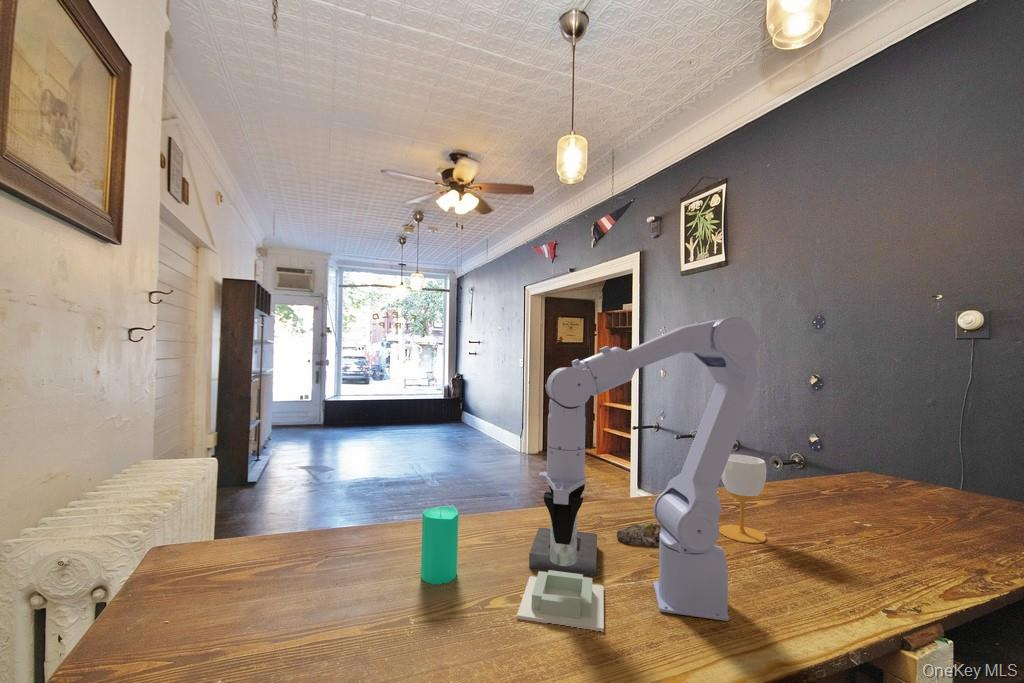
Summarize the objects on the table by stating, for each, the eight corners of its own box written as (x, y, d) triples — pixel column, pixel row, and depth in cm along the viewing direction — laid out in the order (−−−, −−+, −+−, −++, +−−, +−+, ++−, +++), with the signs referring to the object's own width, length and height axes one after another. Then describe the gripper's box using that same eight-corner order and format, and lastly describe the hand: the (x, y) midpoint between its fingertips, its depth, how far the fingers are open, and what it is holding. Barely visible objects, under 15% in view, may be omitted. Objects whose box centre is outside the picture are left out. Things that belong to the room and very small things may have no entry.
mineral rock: (653, 518, 94) (672, 522, 86) (656, 540, 93) (676, 545, 85) (607, 522, 92) (623, 527, 84) (609, 545, 91) (626, 551, 83)
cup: (710, 531, 93) (711, 457, 93) (731, 522, 98) (731, 452, 98) (754, 547, 85) (755, 466, 86) (774, 536, 91) (774, 460, 91)
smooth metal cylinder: (577, 555, 66) (578, 502, 67) (575, 567, 62) (576, 512, 63) (551, 551, 67) (552, 500, 67) (548, 564, 63) (549, 509, 64)
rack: (603, 589, 69) (603, 573, 69) (603, 632, 58) (603, 613, 58) (529, 579, 71) (530, 563, 71) (516, 618, 60) (517, 600, 61)
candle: (422, 586, 68) (424, 510, 69) (419, 568, 74) (421, 498, 74) (459, 582, 70) (461, 507, 70) (454, 564, 76) (456, 495, 76)
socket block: (596, 546, 84) (597, 533, 84) (595, 576, 73) (596, 561, 73) (538, 539, 86) (538, 527, 86) (529, 567, 75) (529, 553, 75)
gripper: (546, 435, 73) (544, 516, 73) (532, 455, 59) (530, 555, 59) (588, 438, 72) (586, 520, 71) (584, 459, 58) (582, 561, 57)
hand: (564, 536), depth 65 cm, fingers closed on smooth metal cylinder, 4 cm apart
